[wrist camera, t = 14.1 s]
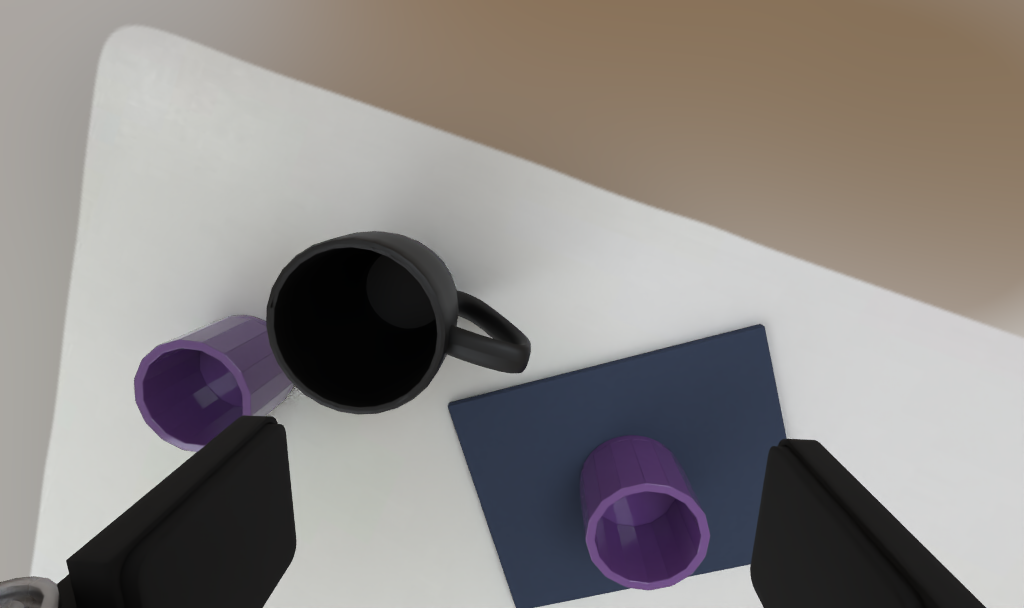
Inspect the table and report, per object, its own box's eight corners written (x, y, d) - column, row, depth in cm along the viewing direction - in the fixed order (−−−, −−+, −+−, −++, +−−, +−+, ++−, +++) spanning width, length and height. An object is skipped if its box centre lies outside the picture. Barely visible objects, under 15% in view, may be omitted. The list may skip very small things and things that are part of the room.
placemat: (760, 323, 32) (764, 326, 31) (804, 546, 35) (809, 552, 35) (449, 402, 34) (447, 406, 34) (517, 604, 37) (517, 611, 37)
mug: (513, 381, 34) (503, 456, 24) (332, 332, 34) (252, 389, 24) (548, 257, 32) (551, 289, 22) (355, 205, 32) (278, 216, 22)
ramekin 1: (274, 303, 33) (222, 326, 28) (311, 397, 35) (269, 437, 29) (182, 329, 34) (114, 357, 29) (222, 420, 35) (164, 464, 30)
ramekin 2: (670, 424, 33) (695, 472, 28) (692, 514, 34) (720, 576, 29) (568, 448, 34) (573, 499, 28) (593, 535, 35) (603, 600, 30)
